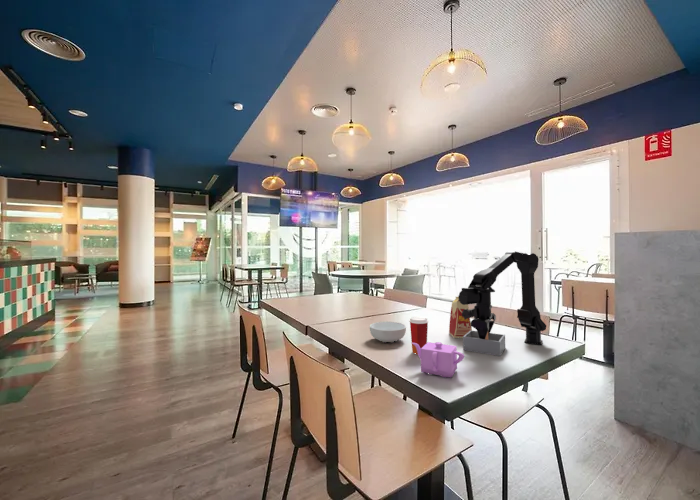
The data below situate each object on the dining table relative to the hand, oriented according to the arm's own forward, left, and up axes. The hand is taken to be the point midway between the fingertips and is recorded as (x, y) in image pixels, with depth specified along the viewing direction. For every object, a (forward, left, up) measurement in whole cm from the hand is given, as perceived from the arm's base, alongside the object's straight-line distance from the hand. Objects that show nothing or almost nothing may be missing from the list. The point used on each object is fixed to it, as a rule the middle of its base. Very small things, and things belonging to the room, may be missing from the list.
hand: (484, 340), depth 126 cm
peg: (0, 0, -4) cm, 4 cm away
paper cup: (+19, -21, -4) cm, 29 cm away
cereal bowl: (+11, -40, -4) cm, 42 cm away
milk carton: (-15, -14, -4) cm, 21 cm away
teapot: (+34, -8, -4) cm, 35 cm away
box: (0, 0, -4) cm, 4 cm away
